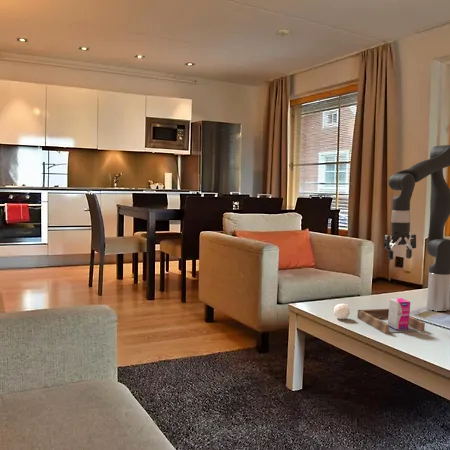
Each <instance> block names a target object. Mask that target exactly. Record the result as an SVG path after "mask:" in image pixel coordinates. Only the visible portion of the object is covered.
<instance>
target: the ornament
mask: <svg viewBox="0 0 450 450" xmlns="http://www.w3.org/2000/svg"><path fill="white" fill-rule="evenodd" d="M350 311H351V309H350V308H349V304H347V303H346V304H345V303H338V304H336V305H335V306H334V308H333V314H334V316H335V317H336V318H337V319H339V320H346V319H348V318H349V316H350V314H351V312H350Z"/></svg>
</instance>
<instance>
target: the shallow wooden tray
mask: <svg viewBox="0 0 450 450" xmlns="http://www.w3.org/2000/svg"><path fill="white" fill-rule="evenodd" d="M388 315H389V308H373V309H372V308H371V309H357V320H358V319H359V320H360V321H362V322H363V323H365V324H367V325H369V326H371V327H372V328H374V329H376V330H378V331H380V332H381V333H382V334H385V335H389V334H390V333H389V324H388V322H384V321H383V320H381V319H388ZM409 326H410V327H412V328H414V329H416V330H418V332H420V333H424V332H425V327H426V326H425V322H423V321H422V320H419V319H417V318H414V317H413V316H412V315H411V316H410V315H409Z"/></svg>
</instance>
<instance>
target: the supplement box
mask: <svg viewBox="0 0 450 450" xmlns="http://www.w3.org/2000/svg"><path fill="white" fill-rule="evenodd" d="M388 309H389V315H388V318H387V324H389V327H390V328H392V329H394V330H408V326H409V316H410V310H411V301H409V300H407V299H404V298H402V297H400V298H399V297H398V298H396V297H395V298H389V305H388Z"/></svg>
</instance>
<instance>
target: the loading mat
mask: <svg viewBox="0 0 450 450" xmlns="http://www.w3.org/2000/svg"><path fill="white" fill-rule="evenodd" d="M417 332H419V331H418V330H416V329H414V328H412V327H410V326H408V330H394V329H392V328H390V327H389V334H399V333H400V334H401V333H417Z"/></svg>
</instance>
